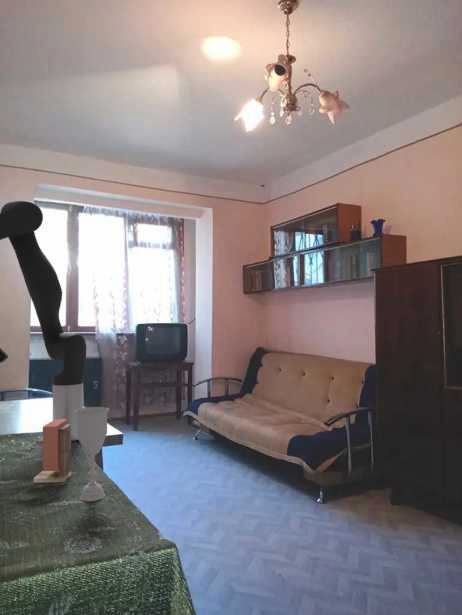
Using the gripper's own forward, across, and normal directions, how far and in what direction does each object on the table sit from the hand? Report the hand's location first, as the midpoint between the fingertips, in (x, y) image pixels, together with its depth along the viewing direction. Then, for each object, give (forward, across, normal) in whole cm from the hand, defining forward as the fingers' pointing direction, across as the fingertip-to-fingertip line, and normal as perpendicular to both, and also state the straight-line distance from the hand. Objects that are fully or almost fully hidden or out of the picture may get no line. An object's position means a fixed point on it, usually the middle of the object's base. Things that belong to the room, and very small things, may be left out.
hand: (4, 360), depth 113 cm
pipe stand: (+29, -5, +10) cm, 31 cm away
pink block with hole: (+27, -5, +7) cm, 29 cm away
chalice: (+38, -17, +2) cm, 41 cm away
